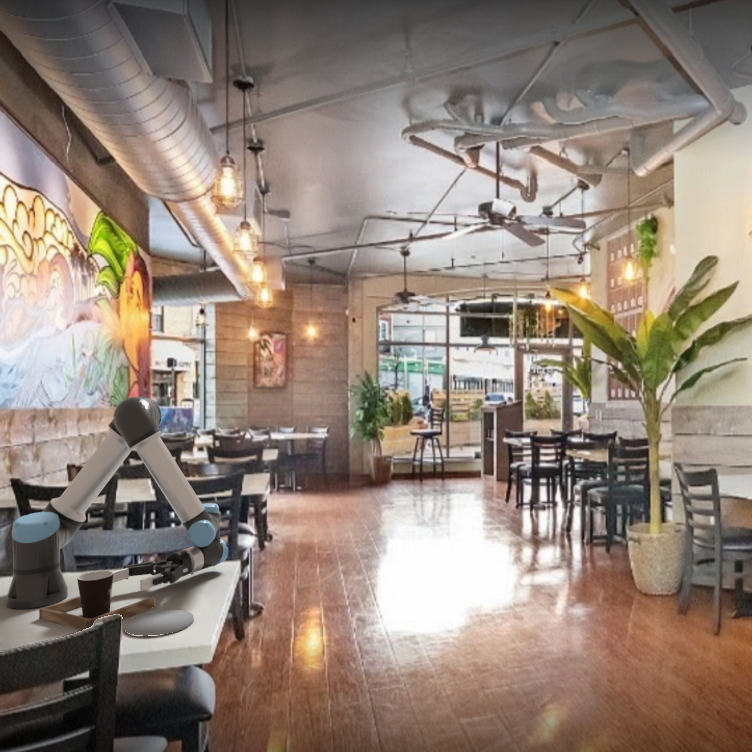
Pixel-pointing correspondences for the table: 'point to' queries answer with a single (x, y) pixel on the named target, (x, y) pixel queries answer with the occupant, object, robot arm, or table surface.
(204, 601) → the table surface
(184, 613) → the mat
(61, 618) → the brown wooden open frame
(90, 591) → the coffee mug
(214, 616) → the table surface
